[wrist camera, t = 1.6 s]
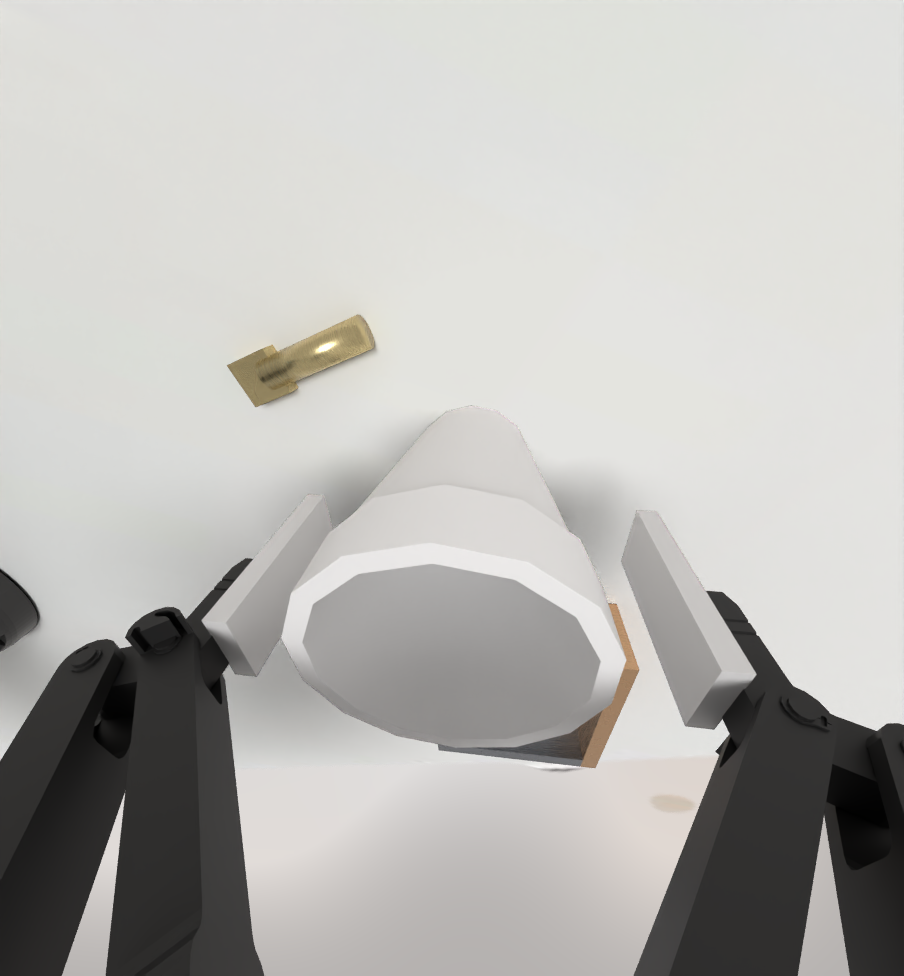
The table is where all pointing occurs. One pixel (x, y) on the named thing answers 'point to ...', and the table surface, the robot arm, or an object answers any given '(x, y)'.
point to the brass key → (300, 360)
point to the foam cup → (458, 599)
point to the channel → (587, 738)
